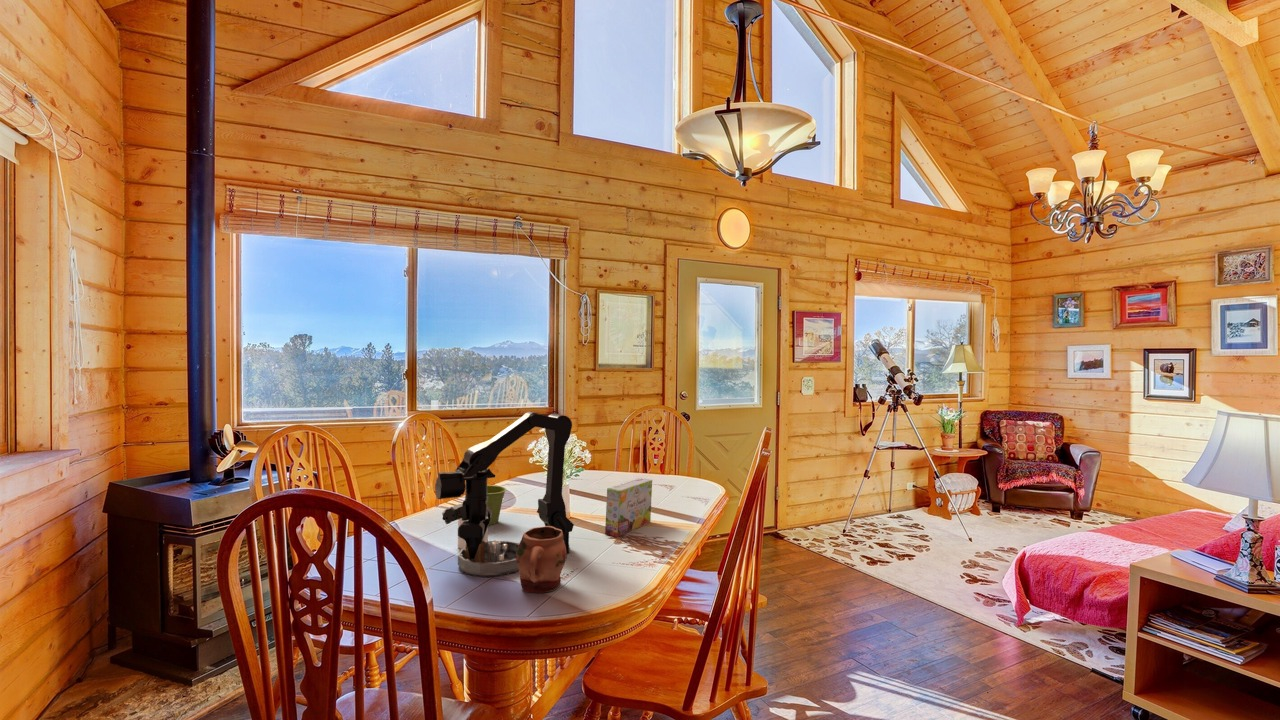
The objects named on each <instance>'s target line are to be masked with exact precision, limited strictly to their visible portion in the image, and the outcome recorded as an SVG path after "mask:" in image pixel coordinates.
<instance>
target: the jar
mask: <svg viewBox="0 0 1280 720" xmlns="http://www.w3.org/2000/svg"><path fill="white" fill-rule="evenodd" d="M487 507H488V504H487ZM486 519H488V516H487V518H486ZM457 521H458V524H457V527H458V528H459V526H460V525H461V524H462V523H463V522H464V521H462V518H461V519H458V520H457ZM466 521H468V520H466ZM458 528H457V529H458ZM482 541H485V542H487V541H489V527H488V528H487V530H486V533H485V535H484V537H483V540H482ZM465 543H466V541H465V540H464V539H462V538H460V537H459V536H458V535H457V549H460V550H461V549H463V548H465Z"/></svg>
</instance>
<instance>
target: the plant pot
mask: <svg viewBox="0 0 1280 720" xmlns="http://www.w3.org/2000/svg"><path fill="white" fill-rule="evenodd" d="M506 491H507V488H506V487H504V486H501V485H490V484H489V485H488V484H487V496H488V501H487V504H488V507H489V508H490V509H491V510H492V517H491V520H490V523H489V525H488V526H491V525H492V526H493V525H494V524H497V523H499V519H500V515H501V508H502V504H503V499H504V498H505V497H504V496H505V492H506Z"/></svg>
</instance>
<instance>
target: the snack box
mask: <svg viewBox="0 0 1280 720" xmlns="http://www.w3.org/2000/svg"><path fill="white" fill-rule="evenodd" d="M652 494H653V479H649V478H643V477H639V478H635V479H633V480H629V481H626V482H624V483H620V484H617V485H614V486H611V487H608V488H607V489H606V507H605V509H606V511H605V526H604V527H605V528H604V529H605V530H604V535H606V536H610V537H615V538H619V537H621V536H624V535H625V534H627V533H630V532H632V531H635V530H637V529H639V528H641V527H643V526H645V525H647V524H650V523H651V517H652V516H651V515H652V514H651V513H652V497H653V496H652Z"/></svg>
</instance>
